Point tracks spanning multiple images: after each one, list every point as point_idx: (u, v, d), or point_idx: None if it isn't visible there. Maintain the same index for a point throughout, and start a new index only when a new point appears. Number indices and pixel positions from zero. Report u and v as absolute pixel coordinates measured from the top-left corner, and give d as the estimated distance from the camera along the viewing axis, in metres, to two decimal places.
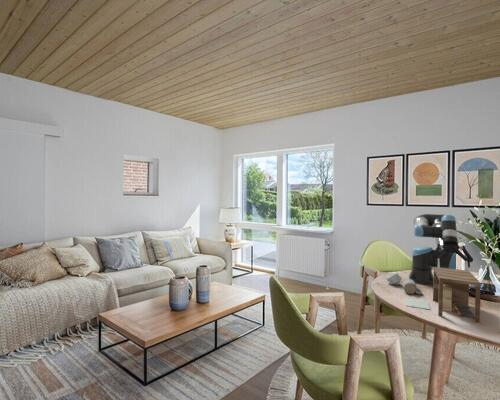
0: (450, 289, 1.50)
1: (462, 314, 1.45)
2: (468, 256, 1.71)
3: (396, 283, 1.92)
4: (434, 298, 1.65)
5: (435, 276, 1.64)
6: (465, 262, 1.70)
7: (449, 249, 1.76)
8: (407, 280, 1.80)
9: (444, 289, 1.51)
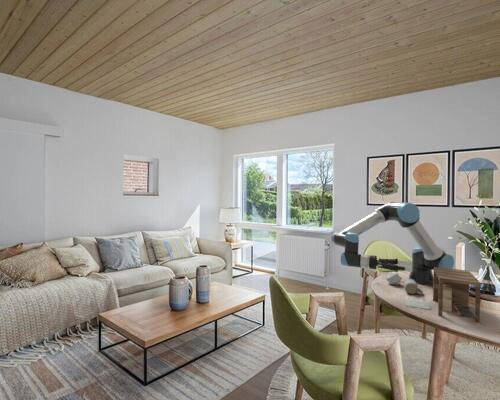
0: (450, 289, 1.50)
1: (462, 314, 1.45)
2: (391, 269, 1.57)
3: (396, 283, 1.92)
4: (434, 298, 1.65)
5: (435, 276, 1.64)
6: None
7: None
8: (408, 280, 1.79)
9: (444, 289, 1.51)
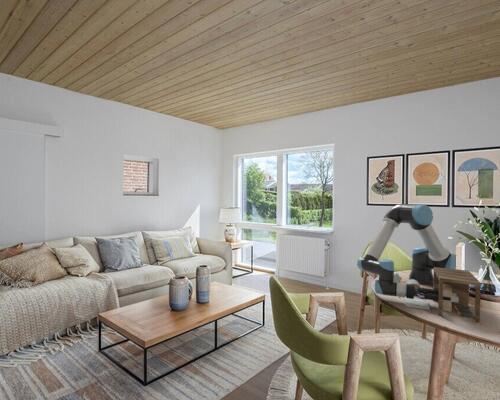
0: (450, 289, 1.50)
1: (462, 314, 1.45)
2: None
3: None
4: None
5: (435, 276, 1.64)
6: None
7: None
8: (411, 280, 1.79)
9: (444, 289, 1.51)
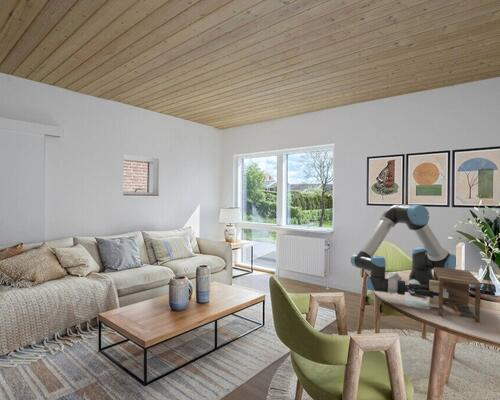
0: None
1: (462, 314, 1.45)
2: (425, 295, 1.52)
3: None
4: None
5: (435, 276, 1.64)
6: None
7: None
8: (412, 281, 1.79)
9: (434, 285, 1.53)
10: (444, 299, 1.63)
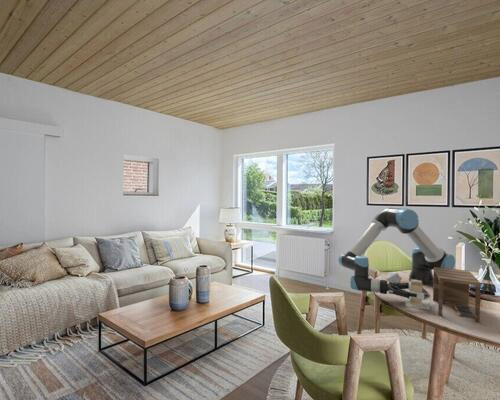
0: (420, 284, 1.56)
1: (462, 314, 1.45)
2: None
3: None
4: (434, 298, 1.65)
5: (435, 276, 1.64)
6: None
7: None
8: None
9: (415, 284, 1.57)
10: (444, 299, 1.63)
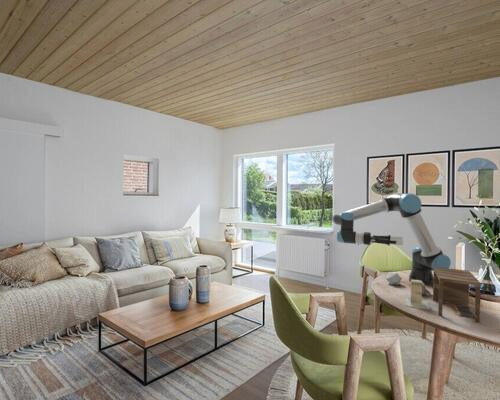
0: (420, 284, 1.56)
1: (462, 314, 1.45)
2: (384, 243, 1.68)
3: (396, 283, 1.92)
4: (434, 298, 1.65)
5: (435, 276, 1.64)
6: None
7: None
8: None
9: (415, 284, 1.57)
10: (444, 299, 1.63)
